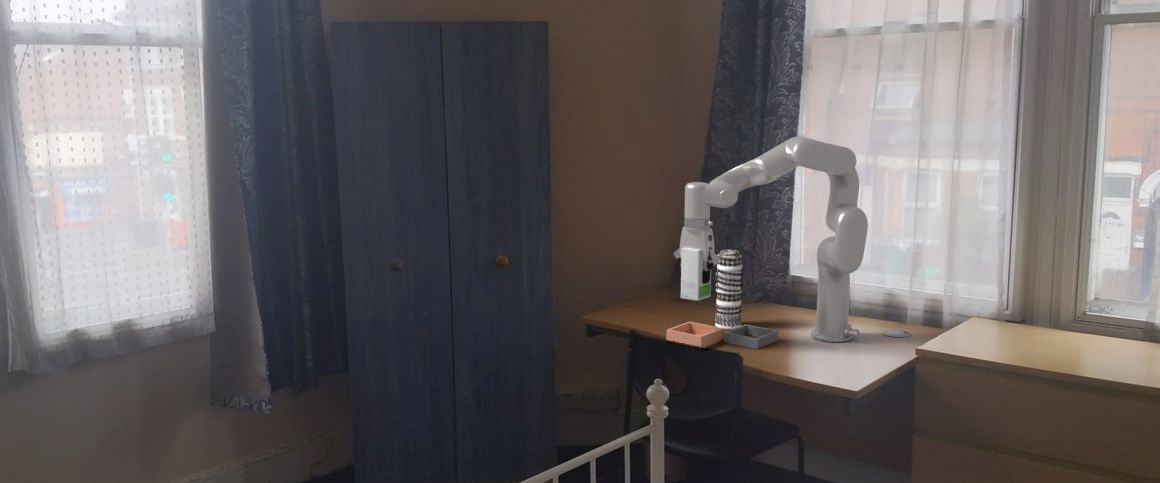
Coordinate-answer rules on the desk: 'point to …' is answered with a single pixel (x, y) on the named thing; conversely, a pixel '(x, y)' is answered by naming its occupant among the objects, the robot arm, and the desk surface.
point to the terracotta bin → (695, 334)
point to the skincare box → (693, 276)
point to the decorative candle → (728, 289)
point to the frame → (738, 337)
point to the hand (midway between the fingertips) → (695, 280)
